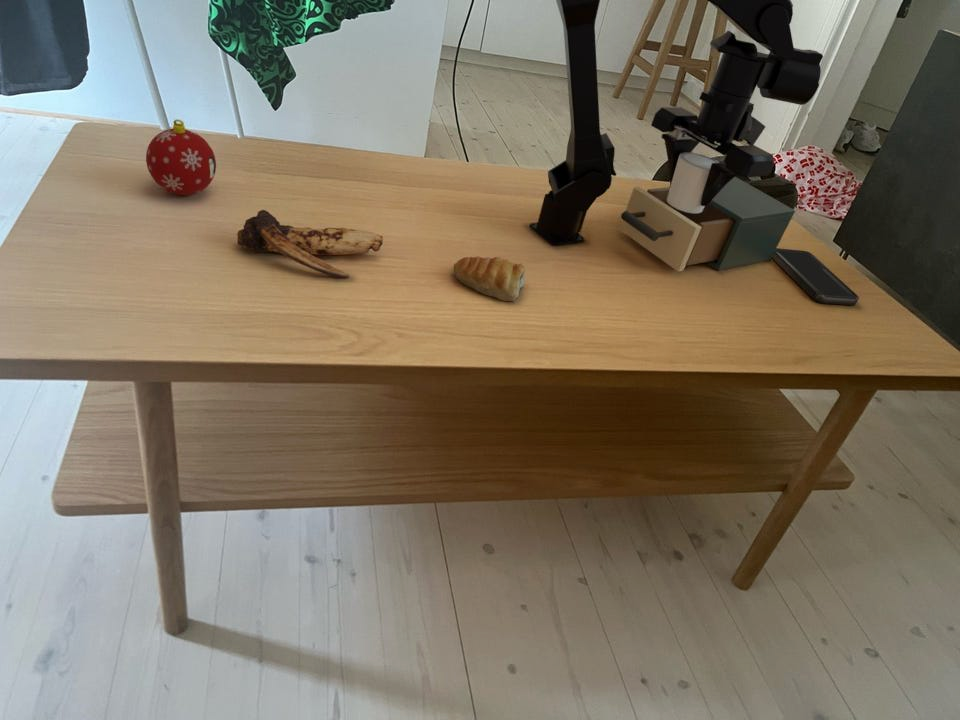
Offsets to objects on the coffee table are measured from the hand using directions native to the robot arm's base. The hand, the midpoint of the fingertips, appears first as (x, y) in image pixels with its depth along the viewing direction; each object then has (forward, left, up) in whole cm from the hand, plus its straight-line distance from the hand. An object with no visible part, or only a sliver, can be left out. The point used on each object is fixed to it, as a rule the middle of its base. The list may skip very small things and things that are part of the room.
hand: (688, 195), depth 102 cm
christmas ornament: (-65, +32, -10) cm, 73 cm away
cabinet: (+11, 0, -10) cm, 15 cm away
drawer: (-1, 0, -9) cm, 9 cm away
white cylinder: (0, 0, -2) cm, 2 cm away
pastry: (-35, -1, -10) cm, 36 cm away
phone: (+20, -14, -10) cm, 27 cm away
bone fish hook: (-55, +11, -10) cm, 57 cm away
